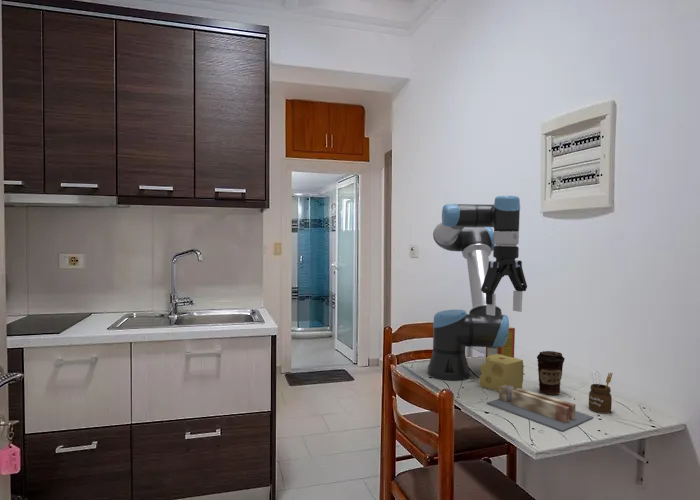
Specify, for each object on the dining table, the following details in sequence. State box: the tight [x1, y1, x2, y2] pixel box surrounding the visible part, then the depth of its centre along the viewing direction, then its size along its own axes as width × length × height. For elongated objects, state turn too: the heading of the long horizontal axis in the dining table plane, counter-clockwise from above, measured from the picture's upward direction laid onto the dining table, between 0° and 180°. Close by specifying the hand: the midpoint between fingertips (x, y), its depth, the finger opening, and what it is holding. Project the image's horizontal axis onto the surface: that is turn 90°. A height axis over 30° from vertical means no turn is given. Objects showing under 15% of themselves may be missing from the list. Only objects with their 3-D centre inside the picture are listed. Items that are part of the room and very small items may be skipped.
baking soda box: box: [485, 325, 516, 358], centre depth 181 cm, size 10×6×16 cm
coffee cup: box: [536, 350, 566, 396], centre depth 150 cm, size 9×8×13 cm
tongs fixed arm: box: [498, 385, 570, 423], centre depth 133 cm, size 22×3×4 cm, turn 36°
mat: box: [486, 398, 594, 433], centre depth 134 cm, size 24×16×1 cm, turn 36°
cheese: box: [478, 354, 524, 393], centre depth 154 cm, size 10×11×10 cm
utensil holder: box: [588, 370, 614, 414], centre depth 135 cm, size 6×6×12 cm
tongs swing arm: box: [516, 388, 576, 420], centre depth 133 cm, size 17×2×4 cm, turn 40°
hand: (504, 313), depth 144 cm, fingers open, 13 cm apart
